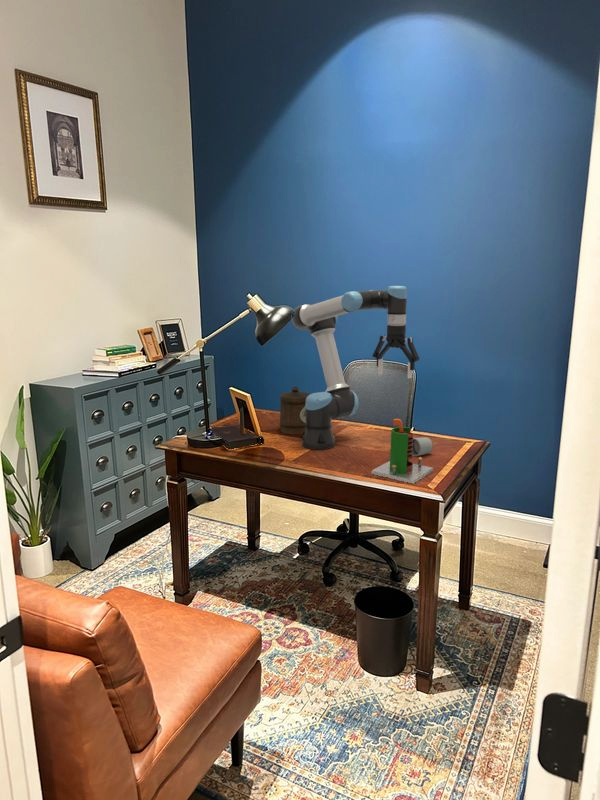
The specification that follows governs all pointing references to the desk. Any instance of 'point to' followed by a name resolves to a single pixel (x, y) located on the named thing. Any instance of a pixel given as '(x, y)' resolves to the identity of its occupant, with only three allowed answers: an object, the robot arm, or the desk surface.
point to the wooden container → (293, 412)
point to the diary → (235, 437)
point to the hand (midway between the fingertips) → (394, 376)
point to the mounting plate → (408, 477)
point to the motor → (401, 448)
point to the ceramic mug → (421, 446)
